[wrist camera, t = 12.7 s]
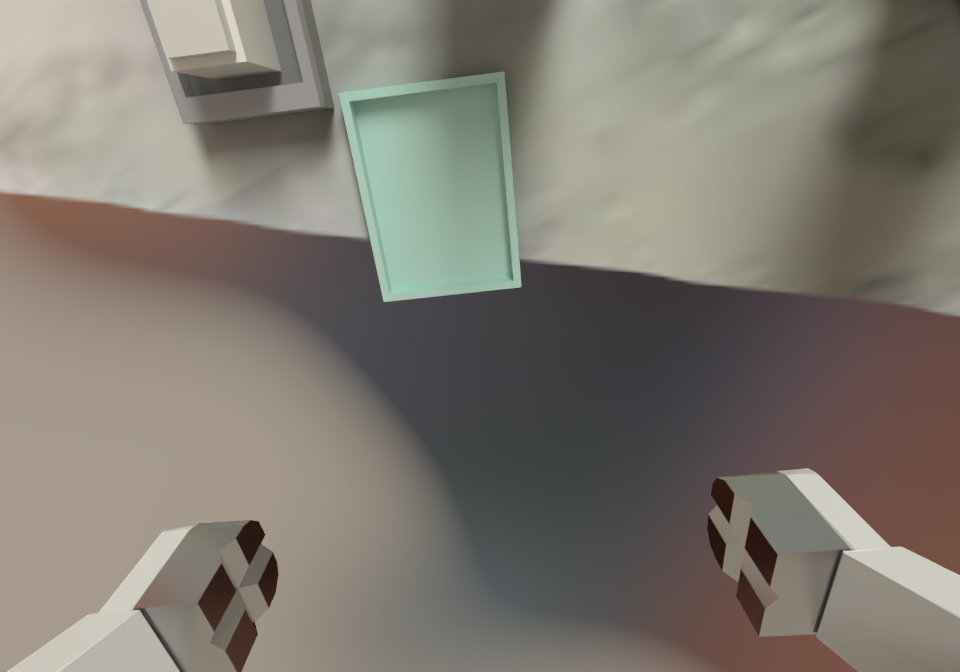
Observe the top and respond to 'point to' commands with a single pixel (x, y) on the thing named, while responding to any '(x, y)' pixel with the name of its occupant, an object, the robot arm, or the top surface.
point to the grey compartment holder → (262, 93)
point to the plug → (215, 37)
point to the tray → (436, 185)
